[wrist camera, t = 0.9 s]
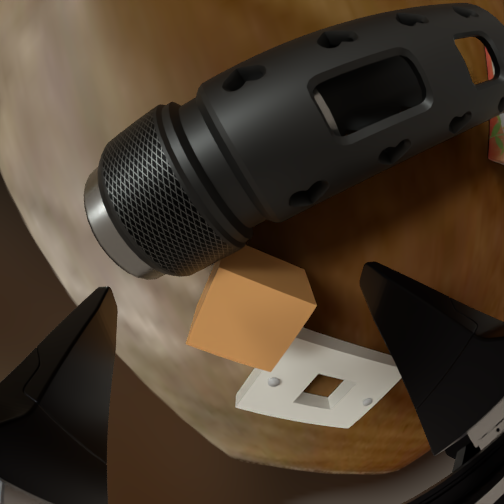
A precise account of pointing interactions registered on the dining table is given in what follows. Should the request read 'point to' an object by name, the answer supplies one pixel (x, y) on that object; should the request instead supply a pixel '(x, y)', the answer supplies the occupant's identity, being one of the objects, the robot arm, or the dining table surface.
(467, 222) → the dining table surface
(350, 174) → the muzzle brake
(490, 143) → the cracker box
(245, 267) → the plug
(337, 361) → the socket plate
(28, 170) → the dining table surface
